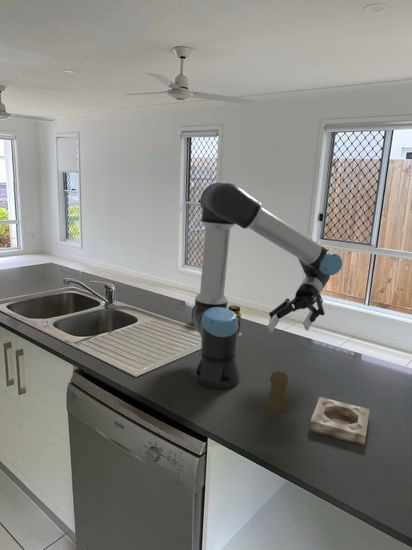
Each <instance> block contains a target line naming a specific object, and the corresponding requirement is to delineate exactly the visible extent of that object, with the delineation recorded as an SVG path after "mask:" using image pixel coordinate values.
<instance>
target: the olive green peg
mask: <svg viewBox="0 0 412 550" xmlns="http://www.w3.org/2000/svg"><path fill="white" fill-rule="evenodd" d="M288 376H289V375H288V374H287V373H285V372H283V371H274V372H272V373H271V375H270V377H269V379H270V383H271V386H270V390H269V396H268V400H267V404H266V408H267V410H269V411H270V412H271V413H276V414H283V413H286V412H287V411H288V398H287V397H288V396H287V385H288V383H289V377H288Z"/></svg>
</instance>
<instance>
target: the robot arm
mask: <svg viewBox="0 0 412 550" xmlns="http://www.w3.org/2000/svg"><path fill="white" fill-rule="evenodd" d="M199 199H200V200H199V202H200V207H201V211H202V212H201V223H202V225H204V228H205V229H204V242H203V250H202V251H203V254H202V266H201V278H200V289H199V293H198V294H197V295H196V296H195V301H194V305H193V307H192V310H191V321H192V324H193V325H194V327H195V328H196V329H197V332H198V333H199V336H200V337H201V347H200V349H201V352H200V358H199V361H198V364H197V365H196V366H197V367H196V369H195V371H194V373H195V374H194V375H195V377H194V379H195V381H196V382H197V383H198V384H199V383H200V384H199V385H201V386H202V387H206V388H209V389H213V390H214V389H215V390H223V389H229V388H230V389H231V388H233V387H235V386H237V385H238V384H239V383H240V379H241V374H240V373H241V372H240V369H239V364H238V361H237V358H236V357H237V343H238V342H237V339H238V335H237V329H238V319H237V316H236V314H235V313H234V312H233V311H231V310H228V301H229V300H228V298H227V297H226V296H225V289H226V288H225V287H226V286H225V285H226V278H227V277H226V276H227V275H226V274H227V265H228V256H229V246H230V245H229V244H230V243H229V242H230V235H231V234H230V232H231V229H232V228H233V227H234V226H235V225H237V226H239V227H240V228H242V229H244V230H245V229H250V230H251V231H253V232H255V233H256V234H258V235H260V236H261V237H263V238H265V239H266V240H268V241H270V242H271V243H272V244H275V245H276V246H277V247H279V248H281V249H283V250H284V251H286V252H288V253H289V254H291V255H292V256H294V257H295V258H297V259H298V262H299V264H300V266H301V268H302V270H303V272H304V275H305V278H304V279H303V280H302V282H301V284H300V285H299V287H298V289H297V290H296V292H295V295H294V298H293V299H291V300H290V298H285V300H284V301H283V302H282V303H280V304H279V305H278V306H276V307H275V308H274V309H272V311H270V312H269V313H268V315H269V317H270V319H269V322H268V324H267V325H266V327H267V330H268V332H269V333H273V331H274V330H275V328H276V327H277V325H278V323H280V319H282V318H283V317H285V316H286V315H288V314H290V313H292V312H296V311H298V310H305V309H306V308H307V310H309V312H308V313H307V315H306V317H305V318H304V321H303V322H302V325H303V327H304V329H305V331H309V330H310V328H311V326H312V324H313V323H315V321H316V320H317V318H318V317H320V316H325V311H324V307H323V302H324V300H323V297H322V296H321V293H322V292H323V289H324V288H325V287H326V285H327V284H328V282H329V280H330V277H331V276H334V275H336V274H338V273H339V272H341V271H340V270H341V269H342V266H343V260H342V257H341V256H340V255H339V254H337V253H336V252H334V251H330V250H328V248H325V247H324V246H322V245H321V244H319V243H318V242H316V241H315V240H314V239H312V238H311V237H308V236H307V235H305V234H303V233H302V232H301V231H299V230H298V229H296V228H294V227H293V226H291V225H290V224H288V223H286V222H285V221H283V220H282V219H280V218H278V216H276V215H274V214H273V213H272V212H269V211H268V210H266V209H265V208H263V207H262V203H261V202H260V201H259V200H257V199H256V198H255V197H252V195H250V194H249V193H248V192H246V191H245V190H244V189H242V188H241V187H239V186H237V185H236V184H233V183H230V182H224V183H223V182H215V183H212V184H209V185H207V187H205V188H204V190H203V191H202V193H201V195H200V198H199ZM315 303H316V306H317V308H316V307H315V306H314V305H315Z"/></svg>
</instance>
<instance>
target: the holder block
mask: <svg viewBox="0 0 412 550" xmlns="http://www.w3.org/2000/svg"><path fill="white" fill-rule="evenodd" d="M369 416H370V408H366V407H362V406H358V405H354V404H349V403H346V402H342V401H337V400H334V399H329V398H327V397H321V396H319V397H318V400H317V403H316V406H315V407H314V411H313V413H312V416H311V418H310V421H309V422H310V423H309V431H310V432H314V433H317V434H321V435H324V436H327V437H329V438H330V437H331V438H334V439H337V440H341V441H344V442H349V443H352V444H356V445H359V446H363V447H365V444H366V438H367V430H368V424H369V418H370V417H369Z"/></svg>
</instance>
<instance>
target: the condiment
mask: <svg viewBox="0 0 412 550" xmlns="http://www.w3.org/2000/svg"><path fill="white" fill-rule="evenodd" d="M227 310H231V311H233V312H234V313H235V314H236V316H237V319H238V329H237V336H243V334H242V332H241V318H242V315H241V307H240V306H238V305H229V306H227Z"/></svg>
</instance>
